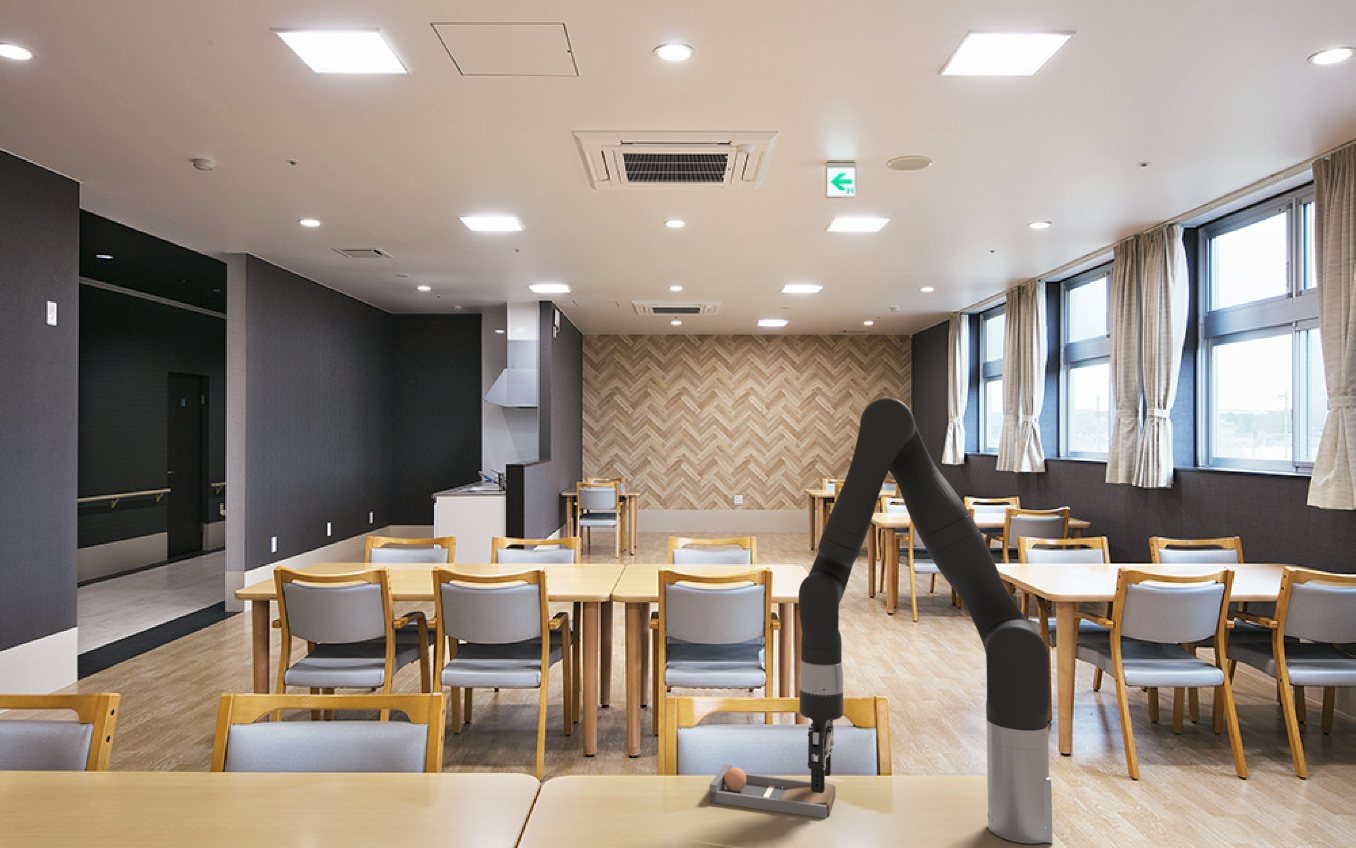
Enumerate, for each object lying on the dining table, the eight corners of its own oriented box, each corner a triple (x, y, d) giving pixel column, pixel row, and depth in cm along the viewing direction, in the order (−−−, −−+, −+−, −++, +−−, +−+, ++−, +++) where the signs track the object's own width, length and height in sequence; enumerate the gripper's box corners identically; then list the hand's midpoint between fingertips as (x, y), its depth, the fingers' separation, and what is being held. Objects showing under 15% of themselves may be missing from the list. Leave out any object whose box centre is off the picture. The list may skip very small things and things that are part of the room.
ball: (748, 765, 145) (727, 763, 146) (743, 773, 141) (721, 770, 142) (748, 788, 145) (726, 785, 146) (743, 796, 141) (721, 793, 142)
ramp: (835, 801, 142) (835, 784, 142) (829, 820, 134) (829, 802, 134) (786, 795, 145) (786, 778, 145) (778, 813, 137) (778, 795, 137)
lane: (833, 794, 143) (833, 777, 144) (826, 818, 133) (826, 799, 133) (724, 780, 149) (725, 764, 150) (709, 802, 139) (709, 784, 139)
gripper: (838, 699, 132) (838, 801, 131) (847, 680, 146) (847, 772, 145) (793, 695, 135) (792, 795, 133) (805, 676, 148) (805, 767, 147)
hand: (821, 783), depth 139 cm, fingers open, 8 cm apart
